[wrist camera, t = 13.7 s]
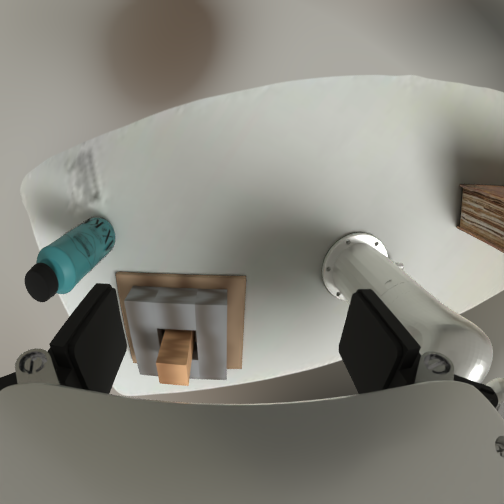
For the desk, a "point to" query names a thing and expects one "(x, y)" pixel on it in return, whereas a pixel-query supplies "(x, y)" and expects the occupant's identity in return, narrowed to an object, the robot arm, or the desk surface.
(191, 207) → the desk surface
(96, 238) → the beverage bottle
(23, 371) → the robot arm
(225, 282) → the socket board
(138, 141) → the desk surface
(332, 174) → the desk surface
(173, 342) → the peg
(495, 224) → the book
